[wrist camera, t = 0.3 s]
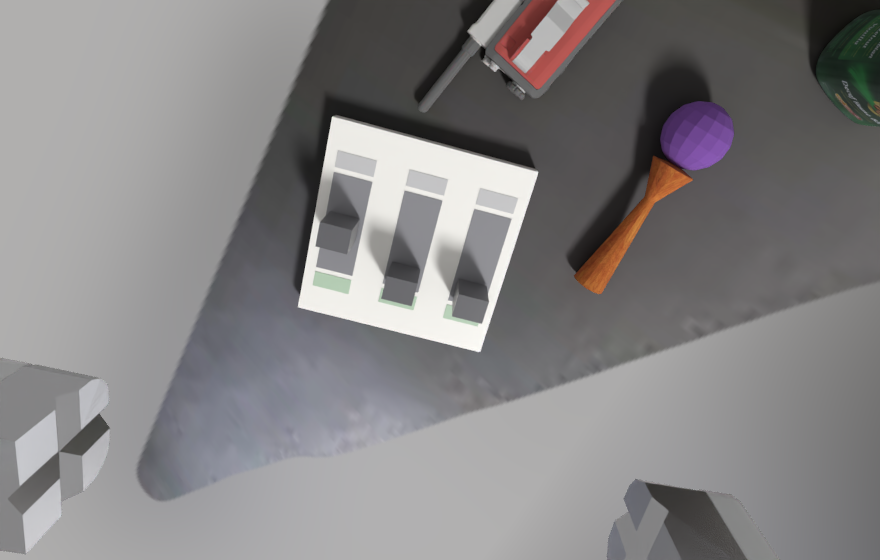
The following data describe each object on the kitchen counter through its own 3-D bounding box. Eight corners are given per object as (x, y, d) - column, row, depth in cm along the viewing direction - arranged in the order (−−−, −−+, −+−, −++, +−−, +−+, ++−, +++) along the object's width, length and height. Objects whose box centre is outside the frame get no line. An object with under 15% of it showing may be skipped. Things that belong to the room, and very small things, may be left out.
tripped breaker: (330, 211, 52) (319, 221, 48) (360, 218, 53) (352, 230, 49) (325, 233, 53) (315, 246, 49) (355, 241, 53) (347, 254, 49)
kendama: (562, 278, 53) (695, 88, 45) (563, 260, 58) (682, 88, 50) (614, 309, 52) (758, 125, 44) (611, 289, 58) (738, 121, 50)
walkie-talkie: (560, -87, 45) (412, 102, 51) (570, -104, 41) (408, 104, 47) (631, -13, 47) (480, 162, 53) (648, -21, 43) (482, 169, 49)
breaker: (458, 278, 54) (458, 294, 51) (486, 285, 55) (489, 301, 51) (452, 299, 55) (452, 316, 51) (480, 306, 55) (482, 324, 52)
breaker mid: (391, 261, 54) (386, 275, 50) (420, 268, 54) (417, 283, 50) (386, 282, 55) (381, 298, 51) (414, 289, 55) (411, 306, 51)
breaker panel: (336, 115, 51) (331, 116, 49) (535, 168, 53) (538, 172, 51) (303, 299, 58) (297, 307, 56) (479, 343, 60) (479, 352, 58)
